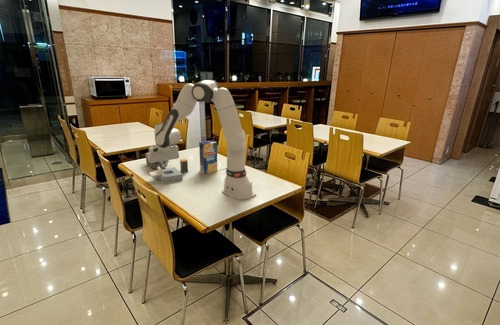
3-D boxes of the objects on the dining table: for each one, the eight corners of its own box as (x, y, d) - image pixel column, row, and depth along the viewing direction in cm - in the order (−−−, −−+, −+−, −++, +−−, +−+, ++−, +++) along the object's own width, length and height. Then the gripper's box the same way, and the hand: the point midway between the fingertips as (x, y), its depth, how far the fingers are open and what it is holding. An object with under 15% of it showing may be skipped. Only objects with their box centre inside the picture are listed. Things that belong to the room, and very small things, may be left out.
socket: (182, 179, 190) (182, 174, 189) (162, 183, 183) (161, 177, 182) (174, 172, 203) (174, 167, 202) (155, 175, 195) (154, 170, 194)
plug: (187, 171, 205) (187, 160, 202) (182, 172, 203) (182, 160, 200) (185, 170, 208) (185, 158, 206) (180, 170, 206) (180, 159, 204)
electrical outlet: (155, 172, 200) (154, 159, 197) (143, 164, 222) (142, 152, 219) (171, 169, 207) (170, 156, 204) (158, 161, 229) (157, 149, 226)
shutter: (162, 174, 186) (162, 169, 185) (151, 176, 182) (151, 171, 181) (159, 171, 192) (159, 166, 190) (148, 173, 188) (148, 168, 187)
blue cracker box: (217, 170, 209) (217, 142, 202) (204, 173, 202) (203, 144, 195) (212, 168, 214) (212, 140, 207) (199, 170, 208) (199, 142, 201)
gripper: (176, 143, 192) (178, 162, 197) (146, 148, 182) (148, 168, 186) (179, 145, 187) (181, 165, 192) (148, 150, 177) (151, 170, 181)
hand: (164, 166), depth 189 cm, fingers closed
